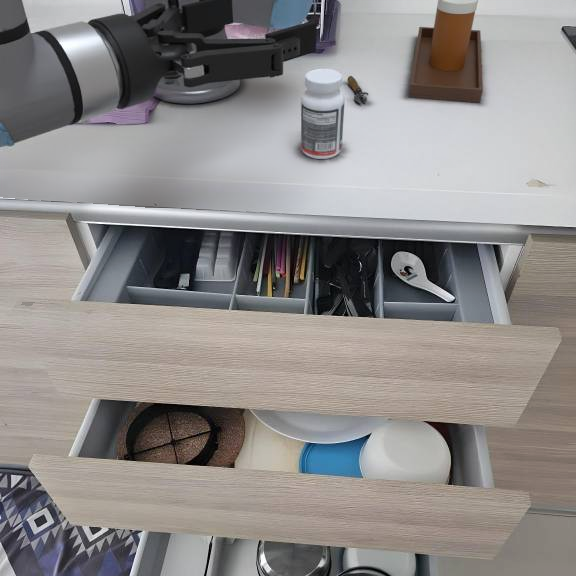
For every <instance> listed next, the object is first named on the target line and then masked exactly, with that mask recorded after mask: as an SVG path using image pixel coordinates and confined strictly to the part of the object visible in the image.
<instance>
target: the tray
mask: <svg viewBox="0 0 576 576" xmlns="http://www.w3.org/2000/svg"><path fill="white" fill-rule="evenodd" d="M433 30H434V27H430V26H429V27H427V26H419V27H418V32H417V39H416V44H415V45H416V46H415V50H414V51H415V52H414V57H413V63H412V69H411V76H410V82H409V89H408V96H407V97H408V98H414V99H424V100H425V99H428V100H440V101H452V102H463V103H464V102H466V103H478V104H479V103H481V101H482V100H481V99H482V95H483V91H484V83H483V82H484V81H483V62H482V37H481V34H482V33H481V30H480V29H476V30H475V29H472V30H471V34H470V39H469V44H468V49H467V54H466V59H465V64H464V67H463V68H462V69H460V70H456V71H441V70H437V69H434V68H432V67H431V66H430V65H429V59H430V53H431V47H432V46H431V42H432V36H433Z"/></svg>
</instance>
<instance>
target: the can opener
mask: <svg viewBox="0 0 576 576" xmlns="http://www.w3.org/2000/svg"><path fill="white" fill-rule="evenodd" d="M346 79H347V82H348V85H349V86H350V87H351V89H353V91H354V93H355V94H354V97H353V99H354V101H355V102H357V103H360V104H363V103H367V102H368V101H367V96H369V93H368V92H365V91H364V92H363V89H362V88H361V86H360V85H359V84H358V82H357V80H356V78H354V76H352V75H349V76H347V78H346Z"/></svg>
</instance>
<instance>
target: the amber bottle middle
mask: <svg viewBox="0 0 576 576" xmlns="http://www.w3.org/2000/svg"><path fill="white" fill-rule="evenodd" d="M478 3H479V0H437V5H438V6H436V8H437V7H438V10H437V9H436V11H437V16H436V15H435V17H436V22H435V21H434V23H435V28H434V27H433V28H434V35H433V41H432V47H431V53H430V59H429V65H430V66H431V67H432V68H434V69H437V70H441V71H456V70H460V69H462V68H463V67H464V64H465V59H466V54H467V49H468V44H469V39H470V34H471V30H473V26H474V25H473V24H474V19H475V14H476V11H477V7H478Z"/></svg>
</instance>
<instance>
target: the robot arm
mask: <svg viewBox="0 0 576 576" xmlns="http://www.w3.org/2000/svg"><path fill="white" fill-rule="evenodd" d="M313 2H314V0H144V4H145V9H144V10H142V11H140V12H137V13H136V14H134V15H132V16H130V15H128V14H126V13H115V14H110V15H106V16H102V17H97V18H93V19H90V20H88V22H86V21H77V22H72V23H68V24H63V25H60V26H56V27H51V28H48V29H42V30H39V31H34V32H32V31H31V28H30V25H29V21H28V17H27V14H26V10H25V5H24V3H23V0H0V148H3V147H13V146H15V144H17V143H20V142H23V141H26V140H28V139H32V138H35V137H37V136H40V135H44V134H47V133H50V132H52V131H55V130H59V129H61V128H65V127H67V126H72V125H75V124H77V123H80V124H81V125H88V124H90V122H91V119H93V118H97V117H99V116H103V115H106V114H110V113H113V112H115V110H116V109H117V110H125V109H127V108H130V107H133V106H136V105H139V104H143V103H146V102H148V101H150V100H151V99H152V98H153V97H155V98H156V99H158V100H162V101H165V102H168V103H174V104H184V105H185V104H186V105H190V104H192V105H193V104H204V103H209V102H215V101H218V100H222V99H224V98H226V97H228V96H230V95H232V94H233V93H235V92H236V91H237V90H238V89H239V88H240V85H241V80H250V79H259V78H270V79H271V78H275V77H280V76H282V75H284V63H285V62H288V61H291V60H294V59H297V58H301V57H304V56H307V55H309V54H314V53H316V52H317V36H318V35H317V32H318V22H316V21H313V20H311V21H307V22H305V21H306V19H307V17H308V15H309V13H310V10H311V8H312V5H313ZM235 23H236V24H240V25H247V26H251V27H258V28H262V29H263V28H264V29H268V30H272V32H268V33H265V34H264V38H228V35H227V32H226V26H228V25H232V24H235Z"/></svg>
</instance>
